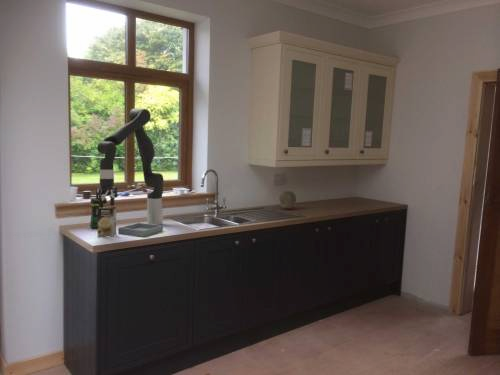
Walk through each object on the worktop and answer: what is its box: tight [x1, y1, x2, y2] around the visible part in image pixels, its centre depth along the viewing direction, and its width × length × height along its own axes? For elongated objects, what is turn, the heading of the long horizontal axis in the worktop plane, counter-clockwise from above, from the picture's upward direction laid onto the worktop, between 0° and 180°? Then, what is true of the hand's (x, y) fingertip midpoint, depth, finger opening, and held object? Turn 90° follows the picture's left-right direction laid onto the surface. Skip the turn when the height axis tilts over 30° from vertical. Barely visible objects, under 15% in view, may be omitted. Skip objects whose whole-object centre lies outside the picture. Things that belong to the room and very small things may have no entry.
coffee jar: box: [89, 196, 108, 229], centre depth 263 cm, size 10×8×19 cm
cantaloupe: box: [279, 190, 297, 210], centre depth 358 cm, size 14×14×15 cm
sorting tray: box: [117, 222, 164, 238], centre depth 253 cm, size 18×18×4 cm
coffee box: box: [97, 206, 117, 238], centre depth 242 cm, size 9×6×16 cm
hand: (106, 206), depth 241 cm, fingers open, 8 cm apart
